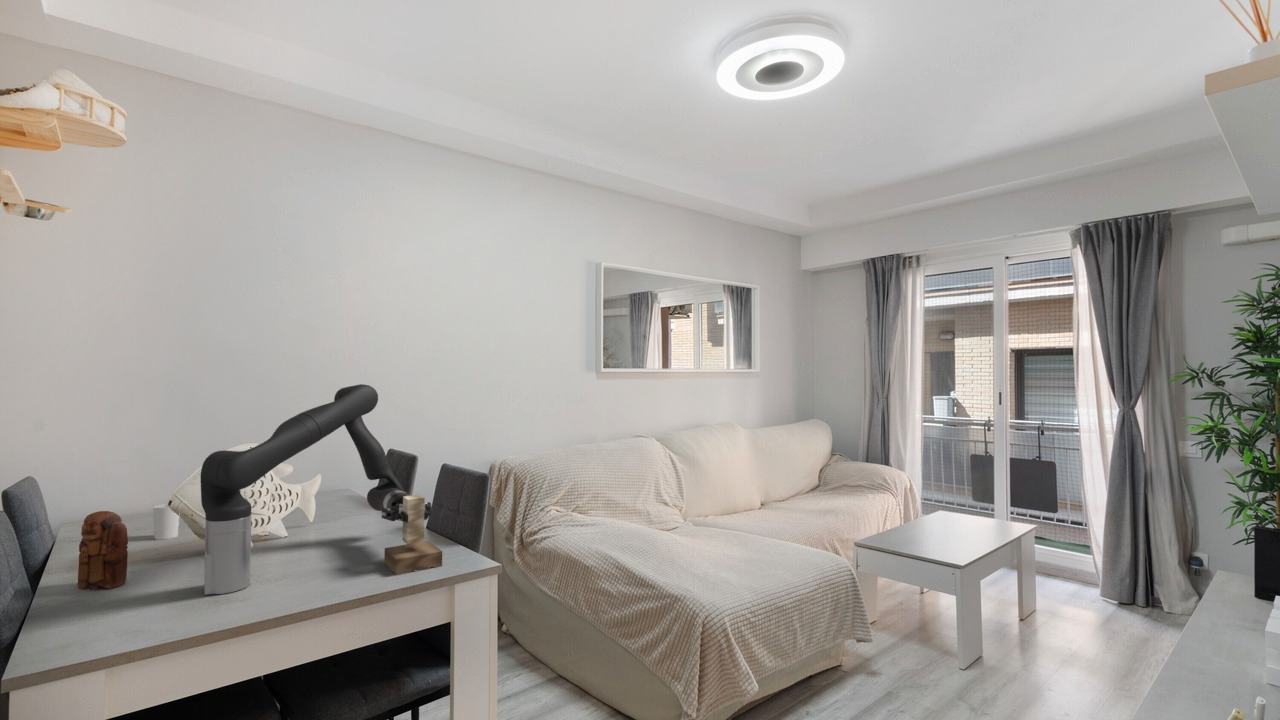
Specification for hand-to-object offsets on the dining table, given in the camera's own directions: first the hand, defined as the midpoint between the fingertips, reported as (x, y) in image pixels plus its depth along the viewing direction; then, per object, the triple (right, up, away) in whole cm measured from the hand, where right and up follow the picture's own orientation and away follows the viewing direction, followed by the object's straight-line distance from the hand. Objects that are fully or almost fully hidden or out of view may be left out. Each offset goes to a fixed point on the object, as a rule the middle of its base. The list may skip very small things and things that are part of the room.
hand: (416, 517), depth 161 cm
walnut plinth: (-2, -13, +2) cm, 14 cm away
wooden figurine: (-72, -13, -15) cm, 75 cm away
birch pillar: (-2, -7, +2) cm, 8 cm away
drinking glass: (-89, -13, +26) cm, 94 cm away
